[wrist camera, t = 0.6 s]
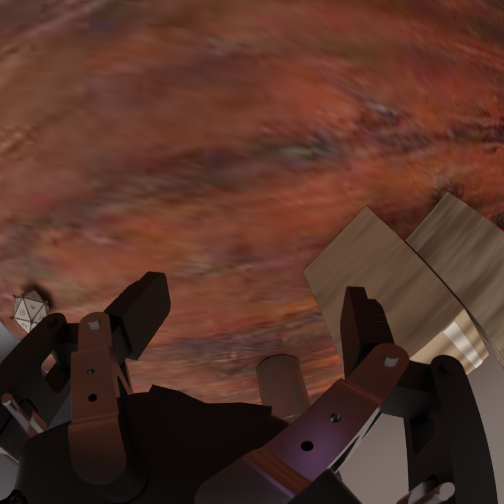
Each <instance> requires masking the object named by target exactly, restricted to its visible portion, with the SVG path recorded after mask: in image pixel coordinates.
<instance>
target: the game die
mask: <svg viewBox="0 0 504 504" xmlns="http://www.w3.org/2000/svg"><path fill="white" fill-rule="evenodd" d="M33 288H34V289H33V290H31V291H29V292H27V293H24V294H21V295H20V296H18V297H16V296H15V295H13V298H15V299H16V300H15V307H14V315H13V317H10V319H11V320H12V319H15V321H16V322H17V323H18V324H19V325H20V326H21V327H22V328H23V329H24V330H25V331H26V332H27V333H29V332H30V331H31V330H32V329H33V328H34V327H35V326H36V325H37V324H38V323H39V322H40V321H41V320H42V319H43V318H44V317H46V316H47V315H49V307H50V308H52V306H53V305H48V304H47V303H48V301H44V299H43V298H42V297H41V296H40V295H39V293H38V292H37V291H36V290H35V289H36V285H34V287H33Z"/></svg>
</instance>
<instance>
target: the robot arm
mask: <svg viewBox="0 0 504 504" xmlns="http://www.w3.org/2000/svg"><path fill="white" fill-rule="evenodd" d="M170 307H171V302H170V296H169V291H168V285H167V280H166V276H165V274H164V273H160V272H150V271H149V272H147V273H146V274H145V275H144V276H143V277H142V278H141V279H140V280H139V281H136V282H134V283H133V284H131V285H129V286H128V287H127V288H126V289H125V290H124V291H123V293H121V294H120V295H119V296H118V298H116V299H115V300H114V301H113V302H112V303H111V304H110V305H109V306H108V307H107V308H106V309H105V310H104V312H94V313H90V314H88V315H86V316H85V317H83V318H82V319H81V321H80V323H67V321H66V318H65V316H64V315H63V314H61V313H52V314H49V315H47V316H46V317H44V318H43V319H42V320H41V321H40V322H39V323H38V324H37V325H36V326H35V327H34V328H33V329H32V330H31V331H30V332H29V333H28V334H27V335H26V336H25V337H24V338H23V339H22V340H21V342H20V343H19V344H18V345H17V346H16V347H15V348H14V349H13V350H12V351H11V353H10V354H9V355H8V356H7V357H6V358H5V359H4V360H3V361H2V363H1V364H0V453H1V454H3V455H4V456H5V457H6V458H7V459H8V460H9V461H11V462H12V463H13V464H15V465H18V472H17V478H16V482H15V486H14V489H13V491H12V493H11V494H10V495H9V496H8V497H7V498H5V499H3V500H1V501H0V504H362V503H361V502H360V501H359V500H358V499H357V497H356V496H355V495H354V494H353V493H352V492H351V491H350V490H349V488H348V487H347V486H346V485H345V484H344V483H343V482H342V478H341V475H340V473H339V471H338V470H339V469H340V468H341V467H342V466H343V465H344V463H345V462H346V461H347V460H348V459H349V457H350V456H351V455H352V454H353V452H354V450H356V448H357V447H358V446H359V444H360V443H361V442H362V441H363V439H364V438H365V437H366V436H367V434H368V433H369V432H370V430H371V429H372V428H373V427H374V425H375V424H376V422H377V421H378V420H379V418H380V417H381V416H382V414H383V413H384V414H388V415H393V416H397V417H402V418H403V419H404V426H405V437H406V448H407V460H408V482H409V493H407V494H406V495H404V496H403V497H402V498H401V499H399V500H398V502H397V503H396V504H498V500H497V492H496V484H495V478H494V472H493V466H492V461H491V457H490V452H489V447H488V443H487V439H486V435H485V431H484V427H483V424H482V420H481V417H480V413H479V410H478V407H477V404H476V401H475V398H474V395H473V392H472V389H471V386H470V383H469V381H468V378H467V375H466V372H465V370H464V367H463V365H462V364H461V362H460V361H459V360H457V359H456V358H454V357H452V356H449V355H438V356H436V357H434V358H433V359H432V361H431V363H430V364H425V363H421V362H416V361H412V360H410V359H409V355H408V353H407V352H406V351H405V350H404V349H403V348H402V347H400V346H398V345H396V344H395V342H394V339H393V336H392V333H391V330H390V327H389V324H388V322H387V318H386V316H385V312H384V310H383V307H382V305H381V304H380V303H379V302H378V301H377V300H376V299H368V297H367V294H366V290H365V288H364V287H357V286H347V287H346V291H345V296H344V302H343V307H342V313H341V319H340V335H341V343H342V353H343V363H344V374H345V380H343V379H339V380H337V381H336V382H335V383H334V384H333V385H332V386H331V387H330V388H329V389H328V390H327V391H326V392H325V393H324V394H323V395H322V396H321V397H320V398H319V399H317V400H316V401H315V402H314V403H313V404H312V405H311V403H310V400H309V397H308V393H307V390H306V386H305V383H304V379H303V376H302V372H301V369H300V365H299V362H298V360H297V359H296V358H295V357H293V356H289V355H278V356H273V357H270V358H268V359H266V360H264V361H262V362H261V363H260V364H259V365H258V366H257V369H256V372H257V378H258V384H259V390H260V395H261V401H262V405H257V404H249V403H241V402H238V403H212V404H209V403H204V402H202V401H199V400H197V399H195V398H193V397H191V396H188V395H186V394H184V393H182V392H180V391H177V390H172V389H168V388H164V387H160V386H156V385H152V387H151V388H150V390H149V392H143V393H133V389H132V385H131V380H130V375H129V371H128V366H127V363H126V361H125V360H126V358H129V359H132V360H136V361H137V360H138V358H139V357H140V355H141V354H142V352H143V351H144V349H145V348H146V346H147V345H148V343H149V342H150V340H151V339H152V338H153V336H154V335H155V333H156V332H157V330H158V329H159V327H160V326H161V324H162V323H163V321H164V320H165V319H166V317H167V316H168V314H169V312H170ZM50 353H51V354H52V355H53V357H54V359H55V361H56V363H55V364H54V366H53V367H52V368H51V369H50V371H49V372H48V373H47V375H46V376H45V377H43V375H42V373H41V365H42V363H43V362H44V360H45V359H46V358H47V357H48V356H49V354H50ZM70 392H71V415H72V420H70V421H68V422H66V423H63V424H61V425H59V426H56V427H54V428H51V429H49V430H47V428H48V426H49V425H50V423H51V421H52V420H53V418H54V417H55V415H56V414H57V412H58V411H59V409H60V407H61V406H62V404H63V403H64V401H65V400H66V398H67V397H68V395H69V394H70Z"/></svg>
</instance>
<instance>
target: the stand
mask: <svg viewBox="0 0 504 504" xmlns="http://www.w3.org/2000/svg"><path fill="white" fill-rule="evenodd" d="M405 241H406V242H407V243H408V245H409V246H410V247H411V248H412V249H413V250H412V249H411V248H410V247H409V246H408V245H407V244H406V243H405V242H404V241H403V240H402V239H401V238H400V237H399V236H398V235H397V234H396V233H395V232H394V231H393V230H391V229H390V228H389V227H388V226H387V225H386V224H385V223H384V222H383V221H382V220H381V219H380V218H379V217H378V216H377V215H376V214H374V213H373V212H372V211H371V210H370V209H369V208H368V207H367V206H365V207H364V208H363V209H362V210H361V211H360V212H359V213H358V214H357V216H356V217H355V218H354V219H353V220H352V221H351V222H350V223H349V224H348V225H347V226H346V227H345V228H344V229H343V230H342V232H341V233H340V234H339V235H338V236H337V237H336V238H335V239H334V240H333V241H332V242H331V243H330V244H329V245H328V246H327V247H326V248H325V249H324V250H323V251H322V252H321V253H320V254H319V255H318V256H317V257H316V258H315V259H314V260H313V261H312V262H311V264H310V265H309V266H308V267H307V268H306V269H305V270H304V271H303V273H304V275H305V277H306V280H307V282H308V284H309V286H310V288H311V291H312V293H313V295H314V297H315V300H316V302H317V304H318V307H319V309H320V311H321V313H322V316H323V318H324V320H325V323H326V325H327V327H328V330H329V332H330V334H331V337H332V339H333V342H334V344H335V346H336V349H337V351H338V354H339V356H340V358H341V361H342V363H343V353H342V343H341V335H340V319H341V313H342V307H343V302H344V296H345V291H346V287H347V286H357V287H364V288H365V290H366V294H367V297H368V299H376V300H377V301H378V302H379V303H380V304H381V305H382V307H383V310H384V312H385V316H386V318H387V322H388V324H389V327H390V330H391V333H392V336H393V339H394V342H395V344H396V345H398V346H400V347H402V348H403V349H404V350H405V351H406V352H407V353H408V355H409V359H410V360H412V361H416V362H421V363H425V364H430V363H431V361H432V359H433V358H434V357H436V356H438V355H449V356H452V357H454V358H456V359H457V360H459V361H460V362H461V364H462V365H463V367H464V370H465V372H466V375H467V374H468V373H470V372H471V371H472V370H473V369H474V368H477V367H478V366H479V365H480V364H481V363H482V361H483V360H484V359H485V358H486V357H487V356H488V355H489V354H488V352H487V350H486V348H485V346H484V344H483V342H482V340H481V338H480V336H481V337H482V338H483V340H484V341H485V343H486V344H487V345H488V347H489V348H490V350H491V351H492V353H493V354H494V355H495V357H496V359H497V360H498V362H499V363H500V364H501V366H502V368H503V369H504V232H503V231H502V230H501V229H500V228H498V227H497V226H496V225H495V224H493V223H492V222H491V221H489V220H488V219H487V218H485V217H484V216H483V215H481V214H480V213H478V212H477V211H476V210H474V209H473V208H471V207H470V206H468V205H467V204H465V203H464V202H463V201H461V200H460V199H458V198H457V197H455V196H453V195H452V194H450V193H449V192H447V193H446V194H445V195H444V197H443V198H442V199H441V200H440V201H439V203H438V204H437V205H436V206H435V207H434V209H433V210H432V211H431V212H430V213H429V214H428V215H427V217H426V218H425V219H424V220H423V221H422V222H421V223H420V225H419V226H418V227H417V228H416V229H415V230H414V231H413V232H412V233H411V234H410V236H409V237H408V238H407V239H406V240H405ZM416 254H417V255H416ZM478 333H479V334H480V336H479V334H478ZM343 366H344V363H343Z"/></svg>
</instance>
